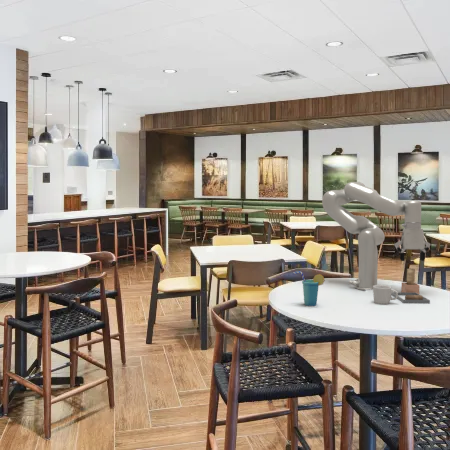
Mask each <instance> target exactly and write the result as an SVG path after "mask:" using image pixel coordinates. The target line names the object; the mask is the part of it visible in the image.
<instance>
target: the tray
mask: <svg viewBox="0 0 450 450" xmlns="http://www.w3.org/2000/svg"><path fill="white" fill-rule="evenodd" d="M397 292H398V291H397ZM405 295H421V294H420V293H419V294H418V293H416V292H400V291H399V292H398V297H397V299H396V300H398V301H400V303H402V304H423V305H424V304H431V299H428V298H427V297H426V296H423V295H422V297H423V300H405V298H402V297H400V296H405ZM391 297H392V298H395V297H396V293H395V292H392V294H391Z"/></svg>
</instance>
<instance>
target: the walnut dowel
mask: <svg viewBox="0 0 450 450" xmlns="http://www.w3.org/2000/svg"><path fill="white" fill-rule="evenodd" d="M404 296H405V297H404V300H423V297H424V296H423V295H421V294H420V295H404ZM422 296H423V297H422Z"/></svg>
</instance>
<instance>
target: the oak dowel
mask: <svg viewBox="0 0 450 450" xmlns="http://www.w3.org/2000/svg"><path fill="white" fill-rule="evenodd" d="M415 274H416V269H415V268H407V269H406V282H407V285H414V283H416V282H415V276H416V275H415Z"/></svg>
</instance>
